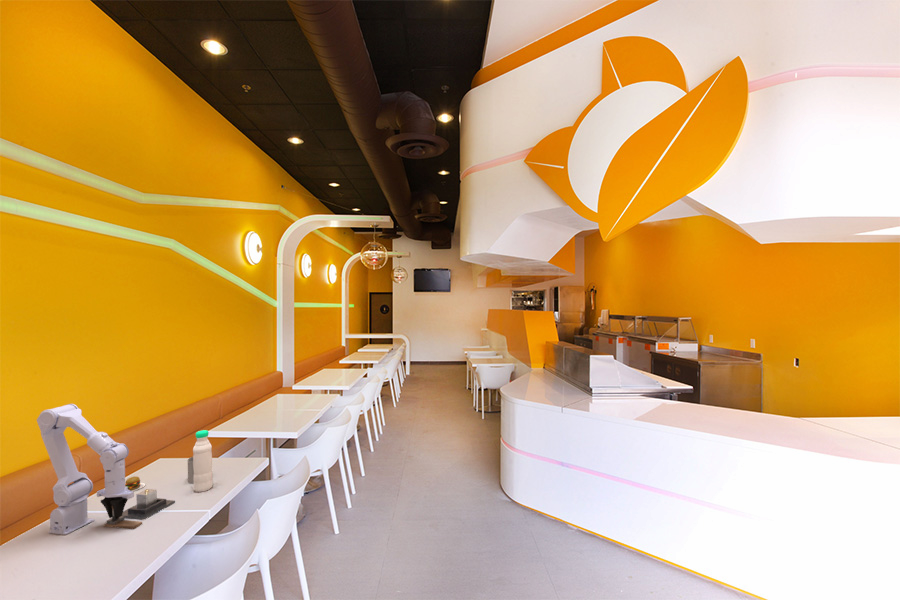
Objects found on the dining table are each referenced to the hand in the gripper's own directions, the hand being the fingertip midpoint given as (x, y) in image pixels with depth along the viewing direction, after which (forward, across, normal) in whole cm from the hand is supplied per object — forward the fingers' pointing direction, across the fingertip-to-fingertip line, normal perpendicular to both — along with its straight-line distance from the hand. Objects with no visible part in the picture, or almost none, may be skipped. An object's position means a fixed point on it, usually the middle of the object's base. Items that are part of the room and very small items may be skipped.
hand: (115, 516), depth 145 cm
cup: (+3, +1, -38) cm, 38 cm away
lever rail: (+3, -4, 0) cm, 5 cm away
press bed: (+3, -1, -11) cm, 11 cm away
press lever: (+2, 0, 0) cm, 2 cm away
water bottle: (+3, -9, -30) cm, 31 cm away
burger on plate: (+4, +24, -26) cm, 36 cm away
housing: (+2, -1, -11) cm, 11 cm away
